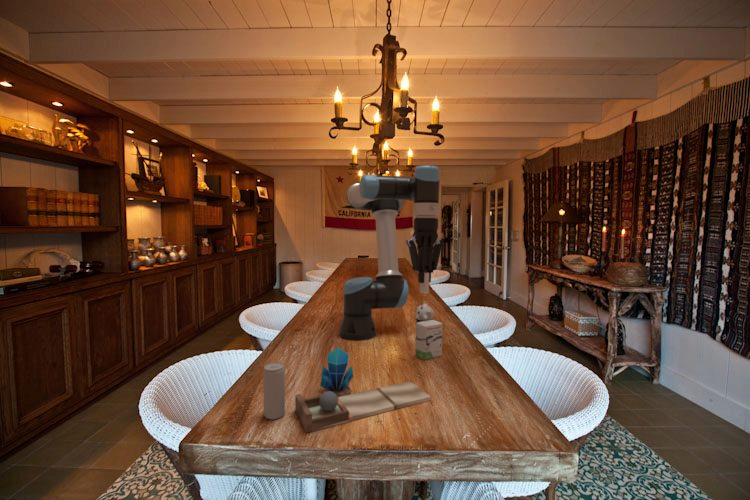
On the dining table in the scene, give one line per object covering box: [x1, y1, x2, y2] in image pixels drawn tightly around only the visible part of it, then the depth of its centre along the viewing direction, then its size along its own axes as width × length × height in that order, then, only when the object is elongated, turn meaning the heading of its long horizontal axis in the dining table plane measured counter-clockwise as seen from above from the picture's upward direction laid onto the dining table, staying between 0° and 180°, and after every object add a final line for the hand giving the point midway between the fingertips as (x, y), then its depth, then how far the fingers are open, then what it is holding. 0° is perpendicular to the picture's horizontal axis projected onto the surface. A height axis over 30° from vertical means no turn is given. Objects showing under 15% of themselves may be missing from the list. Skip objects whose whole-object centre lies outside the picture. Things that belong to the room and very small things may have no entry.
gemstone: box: [319, 346, 354, 397], centre depth 94 cm, size 7×9×12 cm
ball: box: [319, 391, 338, 411], centre depth 85 cm, size 4×4×4 cm
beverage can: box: [262, 362, 286, 421], centre depth 83 cm, size 5×5×12 cm
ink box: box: [414, 319, 443, 361], centre depth 122 cm, size 9×5×12 cm, turn 123°
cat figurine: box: [414, 300, 435, 322], centre depth 166 cm, size 10×8×15 cm
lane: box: [294, 380, 432, 434], centre depth 88 cm, size 10×33×4 cm, turn 117°
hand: (424, 292), depth 109 cm, fingers closed
